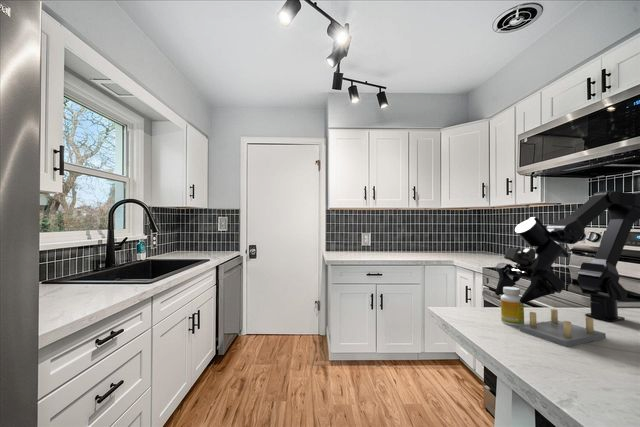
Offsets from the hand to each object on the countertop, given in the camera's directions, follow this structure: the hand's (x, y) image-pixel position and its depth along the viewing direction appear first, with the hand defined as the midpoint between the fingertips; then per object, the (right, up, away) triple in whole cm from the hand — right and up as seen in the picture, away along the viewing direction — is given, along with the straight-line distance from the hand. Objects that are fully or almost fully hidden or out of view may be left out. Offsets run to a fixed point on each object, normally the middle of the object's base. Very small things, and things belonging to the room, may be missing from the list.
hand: (508, 298), depth 84 cm
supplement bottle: (+1, -7, 0) cm, 7 cm away
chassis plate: (+7, -6, -9) cm, 13 cm away
